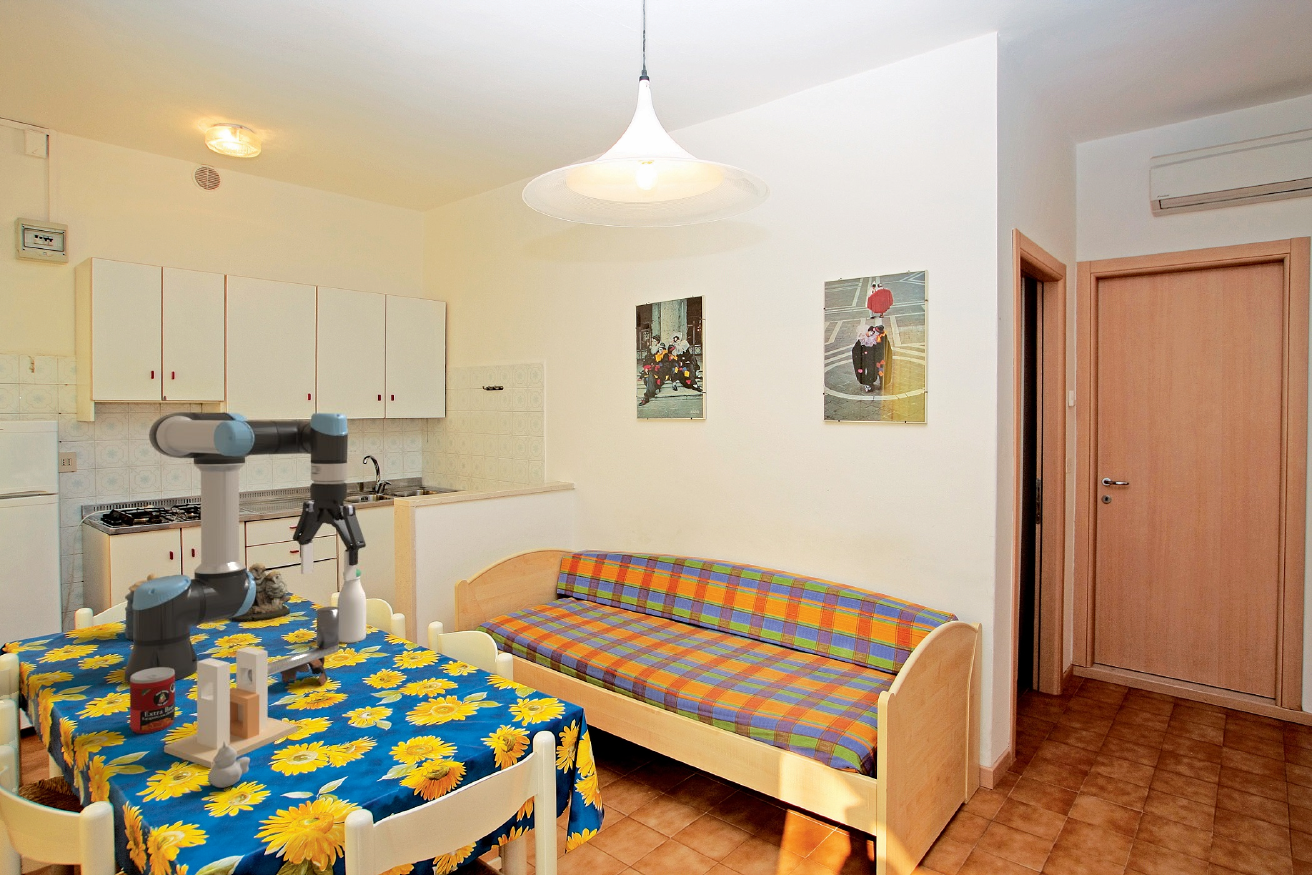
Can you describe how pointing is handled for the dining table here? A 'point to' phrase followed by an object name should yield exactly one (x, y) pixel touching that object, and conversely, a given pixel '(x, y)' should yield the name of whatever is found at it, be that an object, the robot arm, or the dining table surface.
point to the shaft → (325, 642)
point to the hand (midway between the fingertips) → (328, 576)
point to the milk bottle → (352, 611)
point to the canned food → (152, 699)
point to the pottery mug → (315, 667)
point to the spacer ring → (244, 713)
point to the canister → (130, 609)
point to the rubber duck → (227, 767)
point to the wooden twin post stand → (228, 709)
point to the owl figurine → (266, 596)
